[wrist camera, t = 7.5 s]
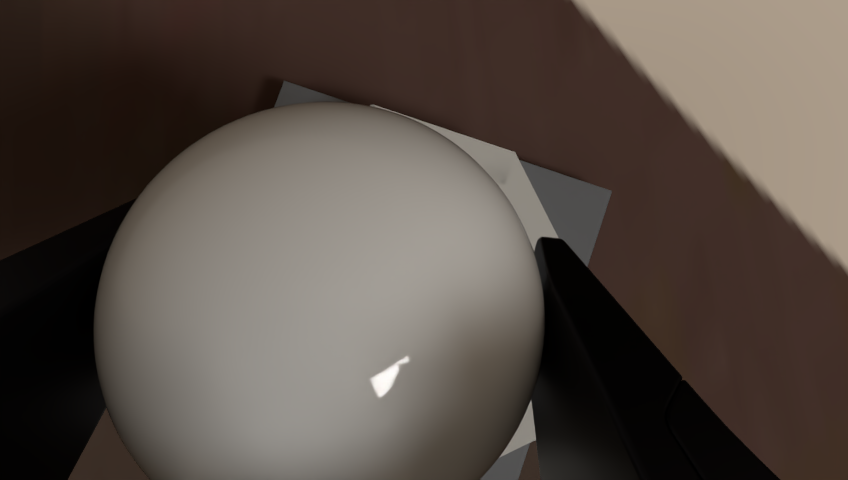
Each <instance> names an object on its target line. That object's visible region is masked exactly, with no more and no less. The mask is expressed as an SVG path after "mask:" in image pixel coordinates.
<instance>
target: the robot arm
mask: <svg viewBox="0 0 848 480" xmlns="http://www.w3.org/2000/svg"><path fill="white" fill-rule="evenodd" d="M136 199H137V198H136ZM136 199H134V200H132V201H130V202H128V203H125V204H123V205H121V206H119V207H117V208H114V209H112V210H110V211H108V212H106V213H104V214H101V215H99V216H97V217H95V218H93V219H90V220H88V221H86V222H84V223H82V224H79V225H77V226H75V227H73V228H71V229H68V230H66V231H64V232H62V233H60V234H57V235H55V236H53V237H51V238H49V239H46V240H44V241H42V242H40V243H38V244H36V245H33V246H31V247H29V248H27V249H25V250H22V251H20V252H18V253H16V254H14V255H11V256H9V257H7V258H5V259H3V260H0V480H68V478H69V476H70V474H71V472H72V470H73V469H74V467H75V465H76V463H77V461H78V459H79V457H80V456H81V454H82V452H83V450H84V448H85V446H86V444H87V443H88V441H89V439H90V437H91V435H92V433H93V431H94V429H95V428H96V426H97V424H98V422H99V420H100V418H101V416H102V415H103V413H104V411H105V409H106V405H105V402H104V399H103V396H102V392H101V388H100V385H99V380H98V376H97V370H96V364H95V356H94V343H93V320H94V308H95V301H96V294H97V289H98V284H99V280H100V276H101V272H102V268H103V265H104V262H105V259H106V256H107V253H108V251H109V248H110V246H111V243H112V241H113V239H114V237H115V234H116V232H117V230H118V228H119V227H120V225H121V223H122V221H123V219H124V217H125V216H126V214H127V212H128V211H129V209H130V208H131V206H132V205H133V203H134V202H135V200H136ZM534 254H535V257H536V260H537V264H538V267H539V271H540V276H541V281H542V287H543V294H544V303H545V340H544V349H543V357H542V362H541V367H540V372H539V376H538V380H537V383H536V387H535V390H534V393H533V396H532V399H531V401H532V409H533V418H534V426H535V434H536V443H537V451H538V460H539V468H540V477H541V480H780V479H779V478H778V477H777V476H776V475H775V474H774V473H773V472H772V471H771V470H770V469H769V468H768V467H767V466H766V465H765V464H764V463H763V462H762V461H761V460H760V459H758V457H757V456H756V455H755V454H754V453H753V452H752V451H751V450H750V449H749V448H748V447H747V446H746V445H745V444H744V443H743V442H742V441H741V440H740V439H739V438H738V437H737V436H736V435H735V434H734V433H733V432H732V431H731V430H730V429H729V428H728V427H727V426H726V425H725V424H724V423H723V422H722V421H721V419H720V418H719V417H718V416H717V415H716V414H715V413H714V412H713V411H712V410H711V408H710V407H709V406H708V405H707V404H706V403H705V402H704V401H703V400H702V399H701V397H700V396H699V395H698V394H697V393H696V392H695V390H694V389H693V388H692V387H691V386H690V385H689V384H688V382H687V381H685V380H682V376H681V375H680V373H679V372H678V371H677V370H676V369H675V368H674V367H673V365H672V364H671V363H670V362H669V361H668V360H667V358H666V357H665V356H664V355H663V354H662V353H661V352H660V350H659V349H658V348H657V347H656V346H655V345H654V343H653V342H652V341H651V340H650V339H649V338H648V337H647V335H646V334H645V333H644V332H643V331H642V330H641V328H640V327H639V326H638V325H637V324H636V323H635V322H634V320H633V319H632V318H631V317H630V316H629V315H628V313H627V312H626V311H625V310H624V309H623V308H622V306H621V305H620V304H619V303H618V302H617V301H616V300H615V298H614V297H613V296H612V295H611V294H610V293H609V291H608V290H607V289H606V288H605V287H604V286H603V285H602V283H601V282H600V281H599V280H598V279H597V278H596V276H595V275H594V274H593V273H592V272H591V271H590V270H589V268H588V267H587V266H586V265H585V264H584V263H583V261H582V260H581V259H580V258H579V257H578V256H577V255H576V253H575V252H574V251H573V250H572V249H571V248H570V246H569V245H568V244H567V243H566V242H565V241H564V240H563V239H560V238H552V237H540V238H539V239H538V240H537V243H536V246H535V250H534ZM681 380H682V381H681Z"/></svg>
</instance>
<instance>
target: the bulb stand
mask: <svg viewBox="0 0 848 480" xmlns="http://www.w3.org/2000/svg"><path fill="white" fill-rule="evenodd" d="M306 102H346V101H343V100H340V99H337V98H334V97H331V96H328V95H325V94H322V93H319V92H316V91H313V90H310V89H307V88H304V87H301V86H298V85H295V84H292V83H290V82H287V81H284V83H283V85H282V88H281V90H280V93H279V96H278V98H277V101H276V104H275V106H274V107H279V106H284V105H290V104H297V103H306ZM346 103H349V102H346ZM371 106H372V107H377V108H380V109H384V110H388V109H385V108H382V107H379V106H376V105H374V104H372V105H371ZM388 111H391V110H388ZM391 112H394V111H391ZM394 113H397V112H394ZM397 114H400V113H397ZM400 115H403V114H400ZM403 116H406V115H403ZM406 117H408V118H411V119H413V120H415V121H417V122H419V123H422V124H424V125H426V126H428V127H429V128H431V129H433V130H435V131H437V132H438V133H440V134H442V135H443V136H445V137H446V138H448V139H449V140H451V141H452V142H453V143H455V144H456V145H458V146H459V147H460V148H461V149H463V150H464V151H465V152H466V153H468V154H469V155H470V156H471V157H472V158H473V159H474V160H476V161H477V162H478V163H479V164H480V165H481V166H482V167H483V168H484V169H485V170H486V172H487V173H488V174H489V175H490V176H491V177H492V178H493V179H494V181H495V182H496V183H497V184H498V185H499V187H500V188H501V189H502V191H503V192H504V193H505V195H506V196H507V198H508V199H509V201H510V202H511V204H512V206H513V207H514V209H515V210H516V212H517V214H518V216H519V218H520V220H521V222H522V224H523V226H524V228H525V230H526V232H527V235H528V237H529V239H530V242H531V245H532V248H533V250H535V246H536V243H537V240H538V239H539V238H540V237H552V238H560V239H563V240H564V241H565V242H566V243H567V244H568V245H569V246H570V248H571V249H572V250H573V251H574V252H575V253H576V255H577V256H578V257H579V258H580V259H581V260H582V261H583V263H584V264H585V265H586V266H588V263H589V260H590V257H591V254H592V251H593V248H594V245H595V242H596V238H597V235H598V232H599V229H600V226H601V223H602V220H603V217H604V214H605V211H606V208H607V205H608V202H609V199H610V195H611V192H612V191H610V190H607V189H604V188H601V187H598V186H595V185H592V184H589V183H586V182H583V181H580V180H578V179H575V178H572V177H569V176H566V175H563V174H560V173H557V172H554V171H551V170H548V169H545V168H542V167H539V166H536V165H533V164H530V163H527V162H524V161H521V160H519V159H518V157H517V155H516V152H513V151H510V150H507V149H504V148H501V147H498V146H495V145H492V144H489V143H486V142H483V141H480V140H477V139H474V138H471V137H468V136H465V135H462V134H459V133H456V132H453V131H450V130H447V129H444V128H441V127H438V126H435V125H432V124H429V123H426V122H423V121H420V120H418V119H415V118H412V117H409V116H406ZM534 440H536V434H535V426H534V418H533V409H532V401H530V404H529V406H528V409H527V411H526V413H525V415H524V418H523V420H522V422H521V424H520V426H519V427H518V429H517V431H516V433H515V435H514V436H513V438H512V440H511V441H510V443H509V444H508V446H507V447H506V449H505V450H504V452H503V453H502V454H501V456H500V457H499V458H498V460H497V461H496V462H495V464H494V465H493V466H492V467H491V468H490V470H489V471H488V472H487V473H486V474H485V475H484V476H483V477H482V478H481V479H480V480H518V478H519V475H520V472H521V469H522V466H523V463H524V460H525V457H526V453H527V450H528V447H529V444H530V442H532V441H534Z"/></svg>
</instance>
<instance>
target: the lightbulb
mask: <svg viewBox="0 0 848 480" xmlns="http://www.w3.org/2000/svg"><path fill="white" fill-rule="evenodd" d="M544 340H545V303H544V294H543V287H542V281H541V276H540V271H539V267H538V264H537V260H536V257H535V254H534V250H533V248H532V245H531V242H530V239H529V237H528V235H527V232H526V230H525V228H524V226H523V224H522V222H521V220H520V218H519V216H518V214H517V212H516V210H515V209H514V207H513V206H512V204H511V202H510V201H509V199H508V198H507V196H506V195H505V193H504V192H503V191H502V189H501V188H500V187H499V185H498V184H497V183H496V182H495V181H494V179H493V178H492V177H491V176H490V175H489V174H488V173H487V172H486V170H485V169H484V168H483V167H482V166H481V165H480V164H479V163H478V162H477V161H476V160H474V159H473V158H472V157H471V156H470V155H469V154H468V153H466V152H465V151H464V150H463V149H461V148H460V147H459V146H458V145H456V144H455V143H453V142H452V141H451V140H449V139H448V138H446V137H445V136H443V135H442V134H440V133H438V132H437V131H435V130H433V129H431V128H429V127H428V126H426V125H424V124H422V123H419V122H417V121H415V120H413V119H411V118H408V117H406V116H403V115H400V114H397V113H394V112H391V111H388V110H384V109H380V108H377V107H372V106H367V105H361V104H355V103H346V102H306V103H297V104H290V105H284V106H279V107H274V108H270V109H266V110H263V111H259V112H256V113H253V114H250V115H247V116H245V117H242V118H239V119H237V120H235V121H232V122H230V123H228V124H226V125H224V126H222V127H220V128H218V129H216V130H214V131H212V132H210V133H209V134H207V135H205V136H204V137H202V138H200V139H199V140H197V141H196V142H194V143H193V144H192V145H190V146H189V147H187V148H186V149H185V150H183V151H182V152H181V153H180V154H178V155H177V156H176V157H175V158H174V159H173V160H171V161H170V162H169V163H168V164H167V165H166V166H165V167H164V168H163V169H162V170H161V171H160V172H159V173H158V174H157V175H156V176H155V177H154V178H153V179H152V180H151V181H150V183H149V184H148V185H147V186H146V187H145V189H144V190H143V191H142V192H141V194H140V195H139V196H138V198H137V199H136V200H135V202H134V203H133V205H132V206H131V208H130V209H129V211H128V212H127V214H126V216H125V217H124V219H123V221H122V223H121V225H120V227H119V228H118V230H117V232H116V234H115V237H114V239H113V241H112V243H111V246H110V248H109V251H108V253H107V256H106V259H105V262H104V265H103V268H102V272H101V276H100V280H99V284H98V289H97V294H96V301H95V308H94V320H93V343H94V356H95V364H96V370H97V376H98V380H99V385H100V388H101V392H102V396H103V399H104V402H105V405H106V408H107V410H108V413H109V415H110V418H111V420H112V422H113V425H114V427H115V429H116V431H117V433H118V435H119V437H120V439H121V440H122V442H123V444H124V445H125V447H126V449H127V450H128V452H129V453H130V455H131V456H132V458H133V459H134V461H135V462H136V463H137V465H138V466H139V467H140V469H141V470H142V471H143V472H144V473H145V475H146V476H147V477H148V478H149V479H150V480H480V479H481V478H482V477H483V476H484V475H485V474H486V473H487V472H488V471H489V470H490V468H491V467H492V466H493V465H494V464H495V462H496V461H497V460H498V458H499V457H500V456H501V454H502V453H503V452H504V450H505V449H506V447H507V446H508V444H509V443H510V441H511V440H512V438H513V436H514V435H515V433H516V431H517V429H518V427H519V426H520V424H521V422H522V420H523V418H524V415H525V413H526V411H527V409H528V406H529V404H530V401H531V399H532V396H533V393H534V390H535V387H536V383H537V380H538V376H539V372H540V367H541V362H542V357H543V349H544Z"/></svg>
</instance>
